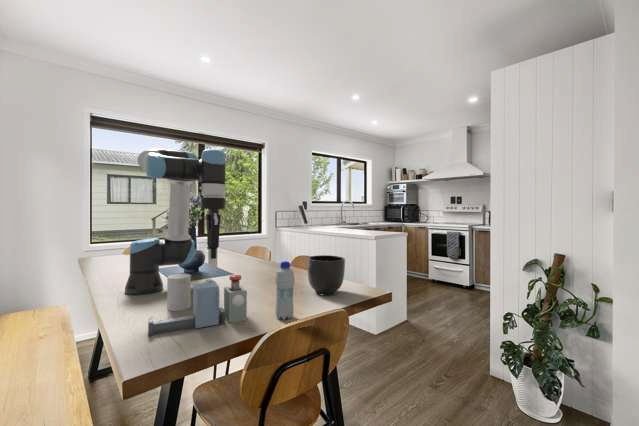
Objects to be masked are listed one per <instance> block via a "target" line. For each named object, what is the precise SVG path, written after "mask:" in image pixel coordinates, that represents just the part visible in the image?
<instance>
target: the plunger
mask: <svg viewBox="0 0 639 426" xmlns="http://www.w3.org/2000/svg"><path fill="white" fill-rule="evenodd" d="M241 280H242V275H241V274H233V275H230V276H229V281H230V282H231V283H230V287H231V291H236V290H239V286H240V281H241Z"/></svg>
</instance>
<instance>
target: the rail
mask: <svg viewBox="0 0 639 426" xmlns="http://www.w3.org/2000/svg"><path fill="white" fill-rule="evenodd" d="M147 321H148V322H147V323H148V325H147V326H148V327H147V329H148V333H147V335H148V337H151V336H154V335H156V334H157V335H158V334H163V333H164V334H165V333H169V332H176V331H181V330H187V329H194V328H195V315H193V314H192V315H186V316H178V317H172V318H165V319H158V320H154V317H153V316H150V317H148V320H147ZM219 324H221V325H224V324H225V325H226V317H225V310H224V307H223V306H221V307H219Z"/></svg>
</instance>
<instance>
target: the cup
mask: <svg viewBox="0 0 639 426" xmlns="http://www.w3.org/2000/svg"><path fill="white" fill-rule="evenodd" d="M191 280H192V275H191V274H188V273H176V274H170V275H168V276H167V281H166V283H167V284H166V285H167V287H166V289H167V293H166V294H167V296H166V297H167V299H166V300H167V302H166V305H167V306H166V307H167V308H166V309H167V311H171V312H179V311H184V310H188V309H190V308H191V302H192V300H191V294H192V293H191V291H192V287H191V284H192V281H191Z"/></svg>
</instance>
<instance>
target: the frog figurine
mask: <svg viewBox="0 0 639 426" xmlns="http://www.w3.org/2000/svg"><path fill="white" fill-rule="evenodd" d="M211 282H216V281H215V280H213V279H212V278H206V279H204V280H203V281H202V282H200V283H199V284H201V283H211Z"/></svg>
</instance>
